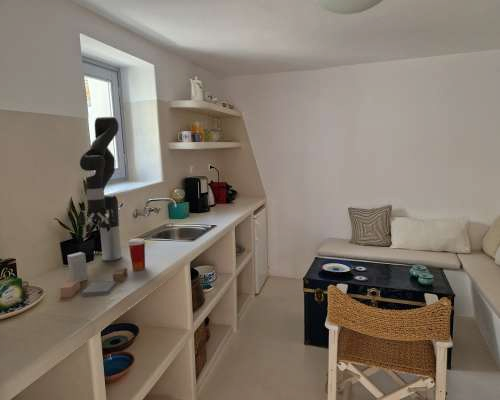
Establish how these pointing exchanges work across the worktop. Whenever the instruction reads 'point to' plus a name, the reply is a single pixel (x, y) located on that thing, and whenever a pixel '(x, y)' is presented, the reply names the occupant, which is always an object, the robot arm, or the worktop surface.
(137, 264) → the paper cup
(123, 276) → the walnut brick
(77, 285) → the terracotta brick
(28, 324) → the worktop surface
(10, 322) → the worktop surface
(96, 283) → the slate slab
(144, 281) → the worktop surface
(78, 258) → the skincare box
